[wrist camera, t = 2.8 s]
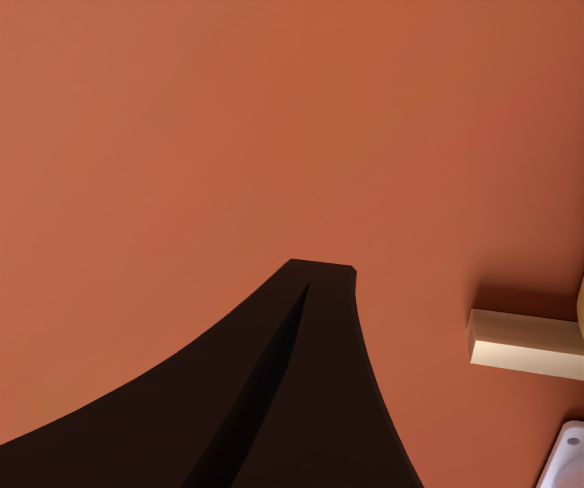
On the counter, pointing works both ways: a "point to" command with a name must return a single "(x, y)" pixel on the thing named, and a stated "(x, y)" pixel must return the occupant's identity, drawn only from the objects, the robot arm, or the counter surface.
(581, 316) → the cheese
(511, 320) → the lane rails
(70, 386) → the counter surface
